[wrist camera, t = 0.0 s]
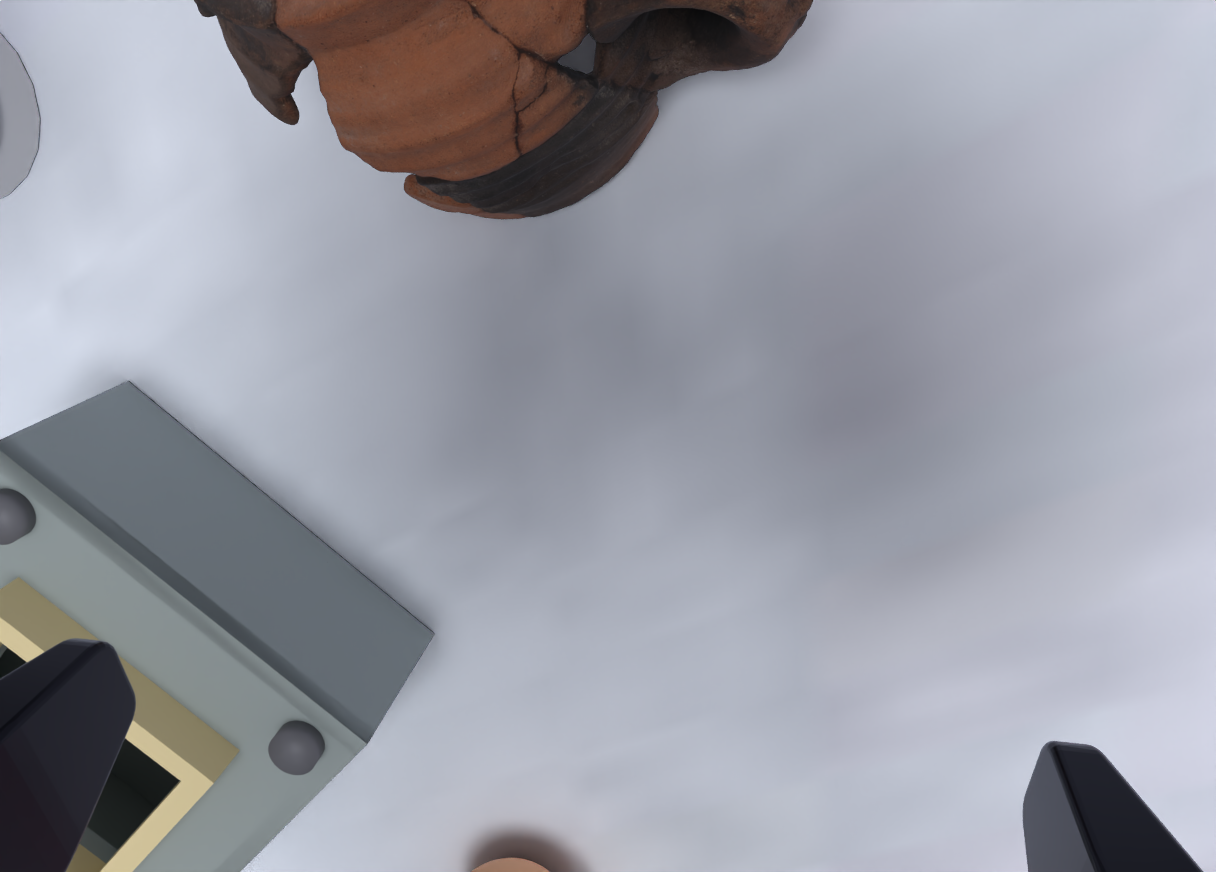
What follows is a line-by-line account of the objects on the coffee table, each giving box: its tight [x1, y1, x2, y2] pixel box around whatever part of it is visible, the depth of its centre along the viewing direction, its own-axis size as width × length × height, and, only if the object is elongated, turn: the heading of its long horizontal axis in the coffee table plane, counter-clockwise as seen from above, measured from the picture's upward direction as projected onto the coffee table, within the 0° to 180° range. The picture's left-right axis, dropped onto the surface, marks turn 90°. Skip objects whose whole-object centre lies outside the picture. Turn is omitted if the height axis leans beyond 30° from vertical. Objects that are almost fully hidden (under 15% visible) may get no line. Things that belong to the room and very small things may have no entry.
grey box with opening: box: [0, 381, 434, 872], centre depth 26 cm, size 12×11×6 cm
